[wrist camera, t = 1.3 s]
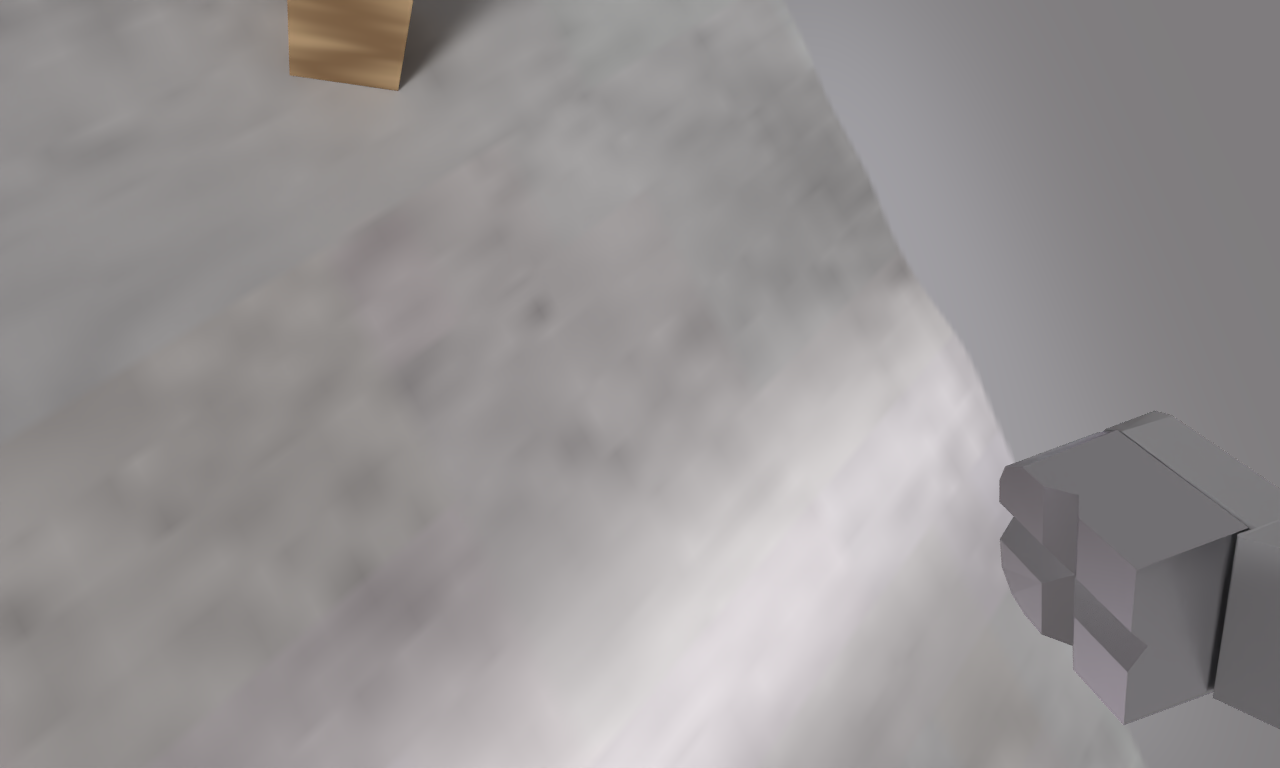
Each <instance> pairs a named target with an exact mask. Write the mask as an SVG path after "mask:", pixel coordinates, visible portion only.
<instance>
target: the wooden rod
mask: <svg viewBox="0 0 1280 768" xmlns="http://www.w3.org/2000/svg"><path fill="white" fill-rule="evenodd" d="M287 1H288V34H289V67H290V75H292V76H299V77H306V78H313V79H320V80H327V81H334V82H341V83H348V84H355V85H362V86H369V87H375V88H382V89H389V90H396V91H398V88H399V82H400V76H401V70H402V64H403V58H404V52H405V46H406V40H407V34H408V28H409V22H410V16H411V10H412V4H413V0H287Z"/></svg>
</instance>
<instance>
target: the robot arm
mask: <svg viewBox="0 0 1280 768" xmlns="http://www.w3.org/2000/svg"><path fill="white" fill-rule="evenodd" d="M999 502H1000V503H1001V504H1002V505H1003V506H1004V507H1005V508H1006V509H1007V510H1008V511H1009V512H1010V513H1011V514H1012V515H1013V516H1014V517H1013V519H1012V520H1011V522H1010V523H1009V525H1008V527H1007V528H1006V530H1005V532H1004V533H1003V535H1002V537H1001V538H1000V547H1001V563H1002V569H1003V571H1004V574H1005V577H1006V580H1007V583H1008V585H1009V588H1010V591H1011V594H1012V595H1013V597H1014V599H1015V600H1016V602H1017V603H1018V605H1019V607H1020V608H1021V610H1022V612H1023V613H1024V615H1025V616H1026V617H1027V618H1028V619H1029V620H1030V622H1031V623H1032V624H1033V625H1034V626H1035V627H1036V629H1037V630H1038V631H1039V632H1040V633H1041V634H1042V635H1045V636H1048V637H1050V638H1053V639H1056V640H1058V641H1061V642H1064V643H1067V644H1069V645H1072V646H1073V670H1074V671H1075V672H1076V673H1077V674H1078V676H1079V677H1080V678H1081V679H1082V680H1083V681H1084V682H1085V683H1086V684H1087V685H1088V687H1089V688H1090V689H1091V690H1092V691H1093V692H1094V693H1095V694H1096V695H1097V696H1098V698H1099V699H1100V700H1101V701H1102V702H1103V703H1104V704H1105V705H1106V706H1107V707H1108V709H1109V710H1110V711H1111V712H1112V713H1113V714H1114V715H1115V716H1116V717H1117V718H1118V720H1119V721H1120V722H1121V723H1122V724H1123V725H1126V724H1128V723H1131V722H1134V721H1136V720H1139V719H1142V718H1145V717H1147V716H1150V715H1153V714H1155V713H1158V712H1161V711H1163V710H1166V709H1169V708H1172V707H1174V706H1177V705H1179V704H1182V703H1185V702H1188V701H1191V700H1193V699H1196V698H1199V697H1201V696H1204V695H1207V694H1210V693H1212V692H1214V693H1213V698H1214V699H1217V700H1219V701H1221V702H1223V703H1225V704H1228V705H1229V706H1232V707H1234V708H1236V709H1238V710H1240V711H1242V712H1244V713H1247V714H1248V715H1251V716H1253V717H1255V718H1257V719H1259V720H1261V721H1263V722H1266V723H1268V724H1270V725H1272V726H1274V727H1276V728H1278V729H1280V488H1279V487H1277V486H1276V485H1274V484H1273V483H1271V482H1270V481H1268V480H1267V479H1265V478H1264V477H1262V476H1261V475H1259V474H1258V473H1256V472H1255V471H1254V470H1252V469H1250V468H1249V467H1248V466H1246V465H1245V464H1243V463H1242V462H1240V461H1239V460H1237V459H1236V458H1234V457H1233V456H1231V455H1230V454H1228V453H1227V452H1225V451H1224V450H1222V449H1221V448H1220V447H1218V446H1217V445H1215V444H1214V443H1212V442H1211V441H1209V440H1208V439H1206V438H1205V437H1203V436H1202V435H1200V434H1199V433H1197V432H1196V431H1195V430H1193V429H1192V428H1190V427H1189V426H1187V425H1186V424H1184V423H1183V422H1181V421H1180V420H1178V419H1177V418H1175V417H1174V416H1172V415H1170V414H1166V413H1162V412H1158V411H1153V412H1150V413H1147V414H1145V415H1142V416H1140V417H1137V418H1134V419H1131V420H1129V421H1126V422H1124V423H1120V424H1118V425H1115V426H1113V427H1110V428H1107V429H1105V430H1104V431H1103V432H1099V433H1095V434H1092V435H1089V436H1087V437H1084V438H1081V439H1079V440H1076V441H1073V442H1070V443H1068V444H1065V445H1062V446H1059V447H1057V448H1054V449H1052V450H1049V451H1046V452H1044V453H1040V454H1038V455H1035V456H1032V457H1030V458H1027V459H1024V460H1022V461H1019V462H1016V463H1013V464H1011V465H1008V466H1005V469H1004V471H1003V473H1002V476H1001V478H1000V496H999Z"/></svg>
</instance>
